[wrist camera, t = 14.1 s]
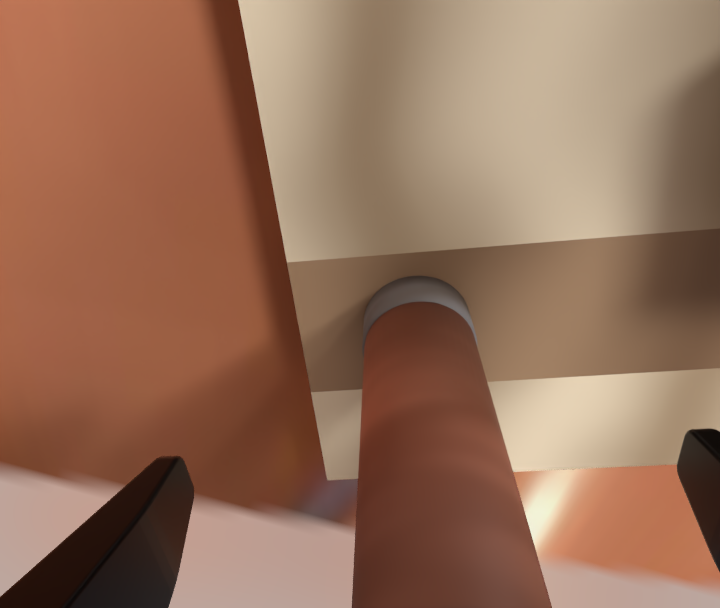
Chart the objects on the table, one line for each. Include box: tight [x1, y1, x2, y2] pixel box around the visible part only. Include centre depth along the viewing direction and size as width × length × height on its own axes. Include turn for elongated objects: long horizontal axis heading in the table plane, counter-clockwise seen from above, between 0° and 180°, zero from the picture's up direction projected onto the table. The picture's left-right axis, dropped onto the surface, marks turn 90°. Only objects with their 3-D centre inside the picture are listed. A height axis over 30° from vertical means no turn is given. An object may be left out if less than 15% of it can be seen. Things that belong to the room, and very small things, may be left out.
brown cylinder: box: [352, 276, 552, 608], centre depth 10 cm, size 3×3×8 cm
